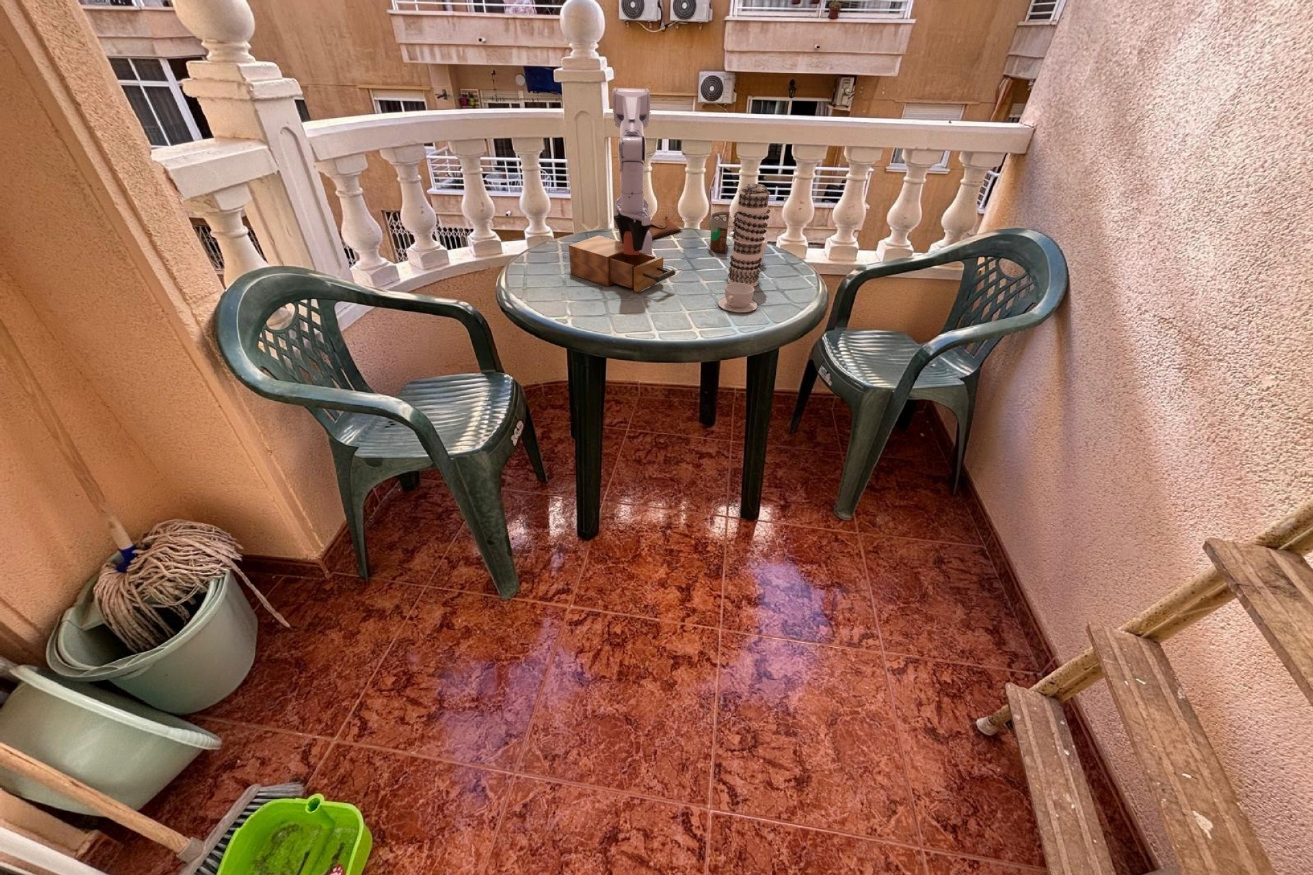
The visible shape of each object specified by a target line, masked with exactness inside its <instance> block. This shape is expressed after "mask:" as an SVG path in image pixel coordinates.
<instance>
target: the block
mask: <svg viewBox="0 0 1313 875" xmlns="http://www.w3.org/2000/svg"><path fill="white" fill-rule="evenodd" d="M639 253H640V251H634V248H633V239H632V233H631V231H625V234H624V254H628V255H639Z"/></svg>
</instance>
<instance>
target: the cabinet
mask: <svg viewBox="0 0 1313 875" xmlns="http://www.w3.org/2000/svg"><path fill="white" fill-rule="evenodd" d="M622 253H624V244H622V242H621V241H620V240H616V239H614V238H609V237H607V236H606V237H605V236H603V235H595V236H592V237H590V238H586V239H583V240H581V241H577V242H573V243H571V244H568V256H569V257H568V258H569V271H570V274H571V275H574V276H576V277H580V278H583V279H585V280H588V281H590V282H591V281H592V282H595V283H598V284H600V285H603V286H606V287H609V286H611V285H614V284H615V283H613V282H610V281H609V259H608V258H611V257H614V256H617V255H619V254H622Z"/></svg>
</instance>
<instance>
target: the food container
mask: <svg viewBox="0 0 1313 875" xmlns="http://www.w3.org/2000/svg"><path fill="white" fill-rule="evenodd" d="M729 222H730V211H717V212H714V213H711V215H710V217H709V220H708V224H709V225H710V245H709V246H710V250H711V251H713V252H715V253H719V254H726V249H727V240H728V232H729Z"/></svg>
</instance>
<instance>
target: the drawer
mask: <svg viewBox="0 0 1313 875" xmlns="http://www.w3.org/2000/svg"><path fill="white" fill-rule="evenodd" d="M608 259H609V281H610V282H613V283H614V284H617V285H620V286H623V287H626V288H629V289H633V291H634V292H635V293H639V292H641V291H643V290H646V289H648V288H649V287H652V286H654V285H656V284H658V283H661V282H664V281H665V280H667V279H669V278H671V277H673V276H675V275H676V270H675V269H671V270H668V269H665V268H664V256H658V257H656V256H655V255H653V254H652V255H649V254H645V253H642V252H640V253H639V255H628V254H624V253H622V254H619V255H617V256H614V257H611V258H608Z"/></svg>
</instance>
